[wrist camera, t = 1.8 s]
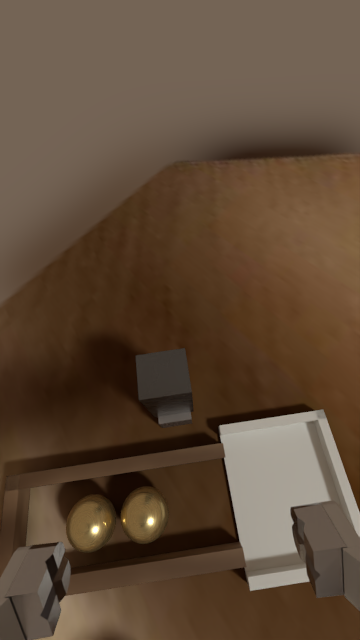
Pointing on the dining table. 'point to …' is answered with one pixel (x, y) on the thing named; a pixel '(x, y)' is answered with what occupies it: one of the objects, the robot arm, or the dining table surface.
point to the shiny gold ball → (144, 515)
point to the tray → (281, 489)
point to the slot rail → (123, 571)
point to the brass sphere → (91, 523)
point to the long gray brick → (165, 386)
